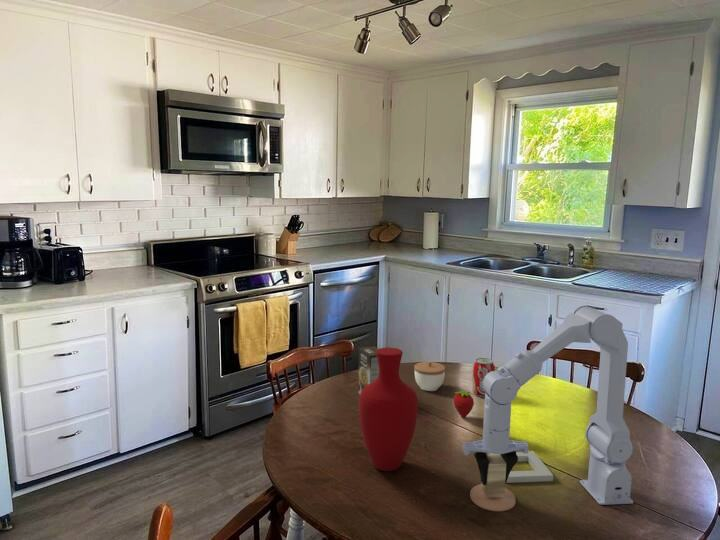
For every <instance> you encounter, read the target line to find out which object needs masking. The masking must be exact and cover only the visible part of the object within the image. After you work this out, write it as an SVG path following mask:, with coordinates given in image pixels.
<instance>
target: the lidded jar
mask: <svg viewBox="0 0 720 540" xmlns="http://www.w3.org/2000/svg"><path fill="white" fill-rule="evenodd" d="M413 368H414V379H415V383H416V384H417V386H418V387H420V389H421V390H422V391H427V392H435V391H437V390H439V388H440V387H441V386H442V385H443V383H444V380H445V375H446V374H445V373H446V366H445V365H444V364H441V363H439V362H434V361H423V362H417V363H415V365H414V366H413Z"/></svg>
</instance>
